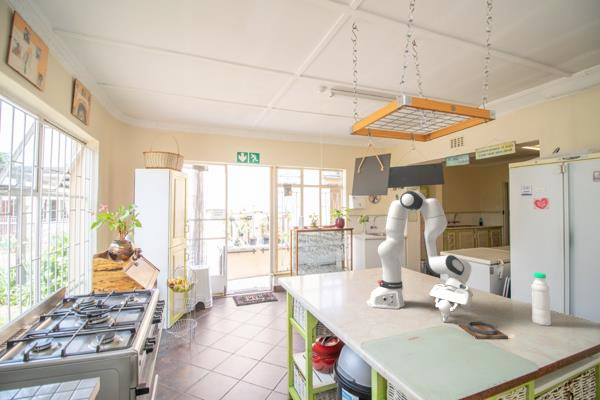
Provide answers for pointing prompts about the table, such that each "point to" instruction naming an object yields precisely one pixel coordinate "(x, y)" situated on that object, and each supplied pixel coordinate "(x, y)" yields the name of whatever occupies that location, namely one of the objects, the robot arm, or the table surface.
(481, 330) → the collar
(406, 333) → the table surface
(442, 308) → the lightbulb
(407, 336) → the table surface
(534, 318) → the water bottle
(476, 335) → the board
